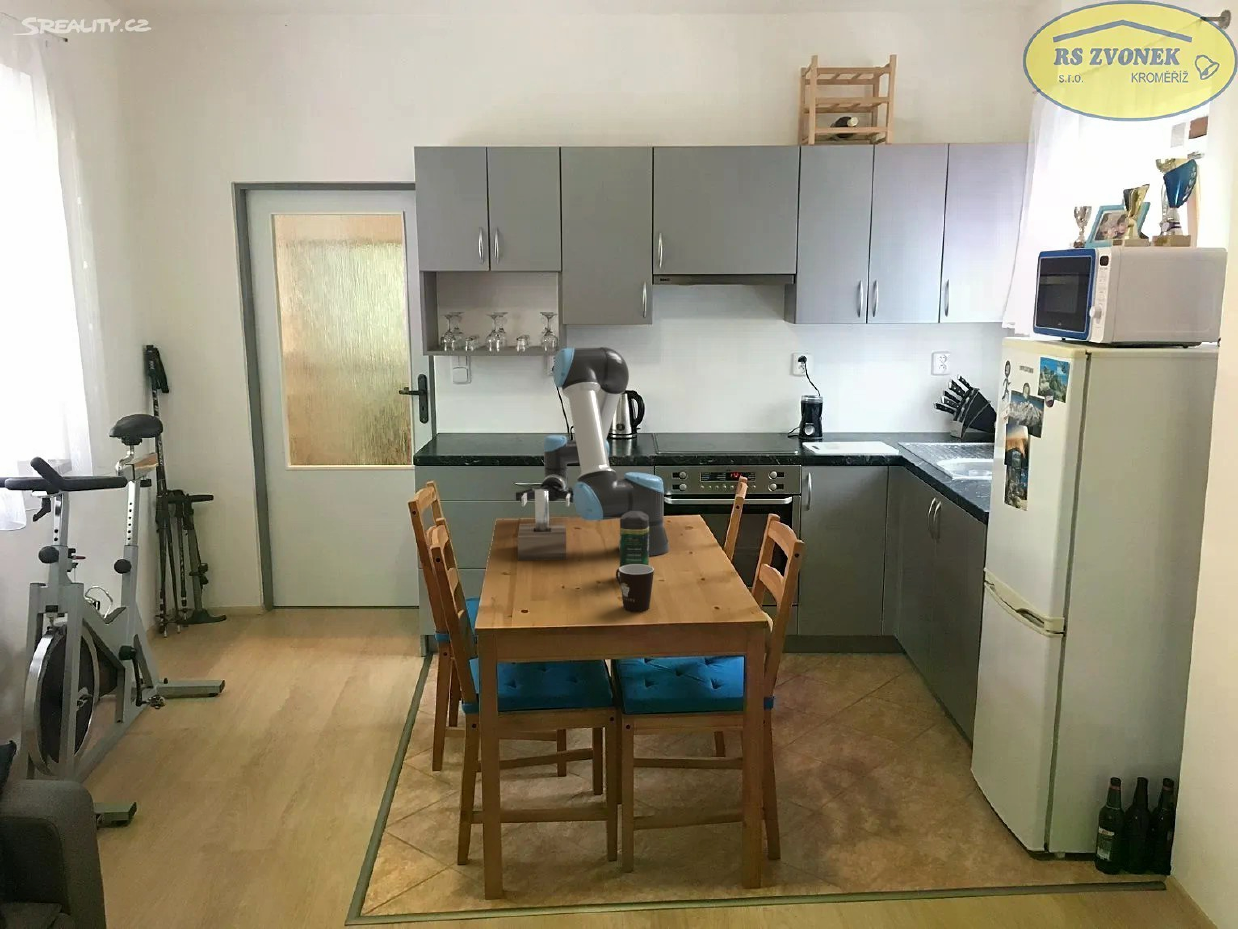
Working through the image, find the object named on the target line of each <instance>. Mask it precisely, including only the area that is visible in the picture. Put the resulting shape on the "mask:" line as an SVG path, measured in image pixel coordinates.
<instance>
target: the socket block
mask: <svg viewBox="0 0 1238 929" xmlns="http://www.w3.org/2000/svg"><path fill="white" fill-rule="evenodd" d="M566 524H567V523H566V522H561V523H560V522H557V523H556V522H555V523H554V522H553V523H550V522H549V532H536V523H519V527H518V532H517V560H518V559H519V560H518V561H541V560H540V559H566V560H567V527H566ZM536 559H538V560H536Z"/></svg>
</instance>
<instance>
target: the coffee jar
mask: <svg viewBox="0 0 1238 929" xmlns="http://www.w3.org/2000/svg"><path fill="white" fill-rule="evenodd" d="M619 541H620V551H619V568H620V567H622V566H625V565H631V564H641V565H648V566H650V564H649V561H650V556H649V517H648V515H647V514H645V513H644V512H643V511H628V512H627V513H625V514H623V515H622V516H621V518H619Z"/></svg>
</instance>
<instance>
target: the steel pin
mask: <svg viewBox="0 0 1238 929" xmlns="http://www.w3.org/2000/svg"><path fill="white" fill-rule="evenodd" d="M536 489H537V488H536ZM536 489H534V490H535V499H534V508H535V509H534V514H535V515H534V516H535V518H534V522H535V523H534V524H536V532H549V523H550V507H549V506H550V501H549V494H548V490H547V489H537V490H536Z"/></svg>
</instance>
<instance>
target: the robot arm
mask: <svg viewBox="0 0 1238 929" xmlns="http://www.w3.org/2000/svg"><path fill="white" fill-rule="evenodd" d="M552 374H553V383H554V386H555V387H556V388H561V389H562V395H563V396H565V397H566V398H567V399H568V401H569V406H570V412H571V413H570V414H571V419H572V424H573V425H572V426H573V432H574V438H575V439H574V440H567V439H568V438H567V436H565V435H564V434H563V435H560V434H559V435H558V434H553V435H551V434H550V435H547V436H546V437H545V438H544V443H543V444H544V445H543V453H544V454H543V457H544V458H543V460H544V468H543V469H544V480H543V481H542V483H541V484H540V486H539V487H537V488H536V489H535V488H534V487H533V486H530V487H528V488H526V489H522V490H520V491H517V492H515V501H518V502H520V503H521V507H525V506H526V504H527V502H528V501H531V500H535V490H537V489H547V490H548V494H549V502H556V501H558V500H565V507H569V506H570V503H574V507H575V509H576V511H577V513H578V515H579V516H580V517H581V518H582V520H584V521H588V522H593V521H594V522H601V521H607V520H615V519H621V516H622V515H623V514H625V513H627V512H628V511H643V512H644V513H645V514H647V515H648V517H649V557H651V556H658V555H663V554H666V553H667V552H669V551H670V542H669V540H668V535H667V533H666V529H665V526H664V498H665V497H664V494H665V490H664V482H663V479H662V477H660V476H657V475H656V474H655V475H654V474H650V473H645V472H634V471H633V472H631V471H630V472H626V473H625V474H624V475H623V478H620V479H619V478H618V476H617V472H616V470H615V469H613V468H611V466H610V461H609V456H610V443H609V442H608V439H607V437H608V436H609V432H610V429H611V425H612V424H613V419H614V417H615V413H616V411H617V407H618V404H619V401H620V399H621V396H622V394H624V393H625V391H626V390H627V387H628V384H629V378H630V375H629V374H630V371H629V367H628V364H627V363H626V360H625V359H624V357H623V356H622V354H620V353H619V352H618V351H616V350H615V349H612V348H610V347H606V346H605V347H603V346H602V347H600V346H599V347H569V348H562V349H560V350H559V351H558V352H557V353H556V355H555V358H554V364H553V372H552ZM573 463H574V464H576V463H579V467H580V471H581V472H580V474H579V475H578V476H577V478H576V479H577V482H576V483H575V484H574V485H573V488H572V487H567V486H568V483H569V477H568V473H567V472H568V466H567V465H568V464H573ZM618 550H619V552H620V540H619V542H618Z"/></svg>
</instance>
